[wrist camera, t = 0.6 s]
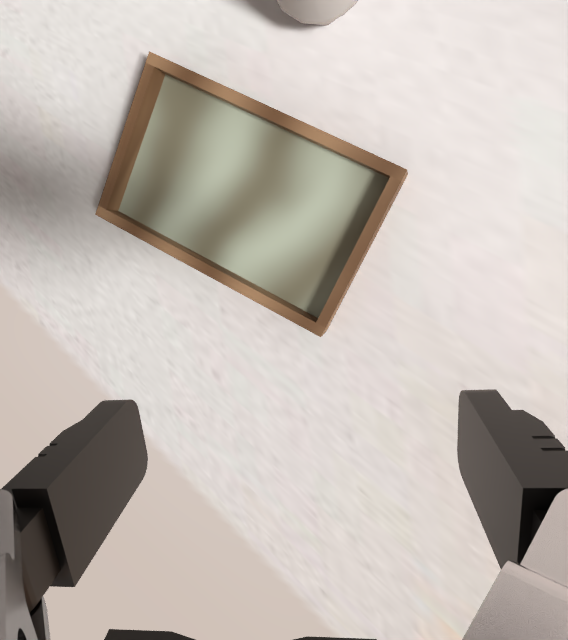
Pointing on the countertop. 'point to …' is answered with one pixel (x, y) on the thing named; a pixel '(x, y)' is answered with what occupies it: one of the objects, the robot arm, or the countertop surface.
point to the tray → (246, 193)
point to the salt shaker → (316, 10)
